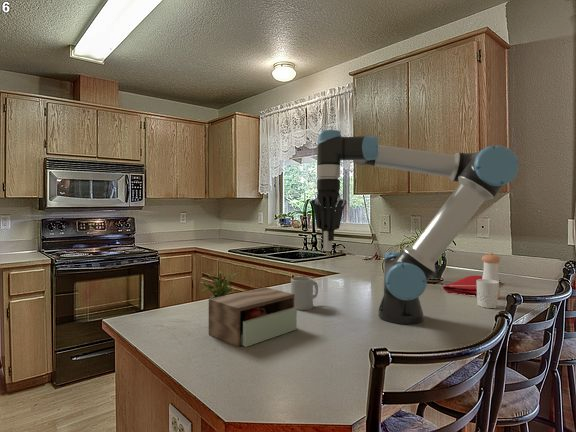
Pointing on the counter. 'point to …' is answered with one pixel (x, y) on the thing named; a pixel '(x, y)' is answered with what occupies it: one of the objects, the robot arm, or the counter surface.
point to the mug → (303, 292)
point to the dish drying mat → (464, 286)
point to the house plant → (219, 285)
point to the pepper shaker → (491, 268)
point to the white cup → (487, 293)
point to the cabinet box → (243, 310)
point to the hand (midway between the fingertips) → (327, 250)
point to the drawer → (267, 326)
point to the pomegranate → (254, 313)
